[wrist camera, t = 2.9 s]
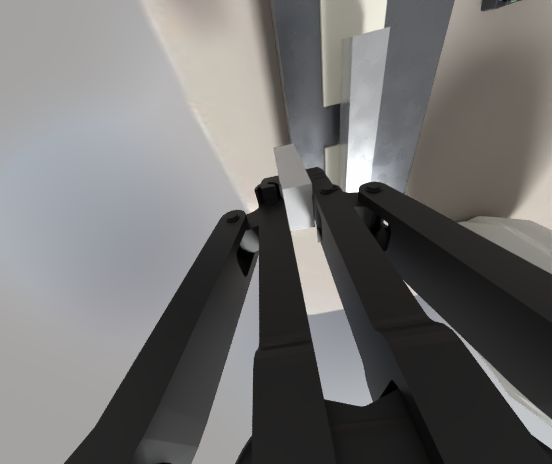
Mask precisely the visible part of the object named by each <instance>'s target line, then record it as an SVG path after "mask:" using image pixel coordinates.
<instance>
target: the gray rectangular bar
mask: <svg viewBox="0 0 552 464" xmlns="http://www.w3.org/2000/svg"><path fill="white" fill-rule="evenodd" d="M389 32H390V27H387V28H383V29H379V30H375V31H371V32H367V33H364V34H360V35H356V36H352V37H348V38H345V39H342V40H341V97H340V159H339V187H340V188H341V189H342V191H343V192H358V188H359V186H360V185H362V184H364V183H367V182H370V181H371V173H372V165H373V157H374V149H375V142H376V134H377V126H378V118H379V110H380V103H381V95H382V87H383V79H384V71H385V63H386V56H387V48H388V40H389Z"/></svg>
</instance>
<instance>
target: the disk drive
mask: <svg viewBox="0 0 552 464" xmlns="http://www.w3.org/2000/svg"><path fill="white" fill-rule="evenodd" d="M516 1H521V0H483V3H482V7H481V11H487V10H492V9H497V8H499V7H502V6H505V5H508V4H511V3H514V2H516Z"/></svg>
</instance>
